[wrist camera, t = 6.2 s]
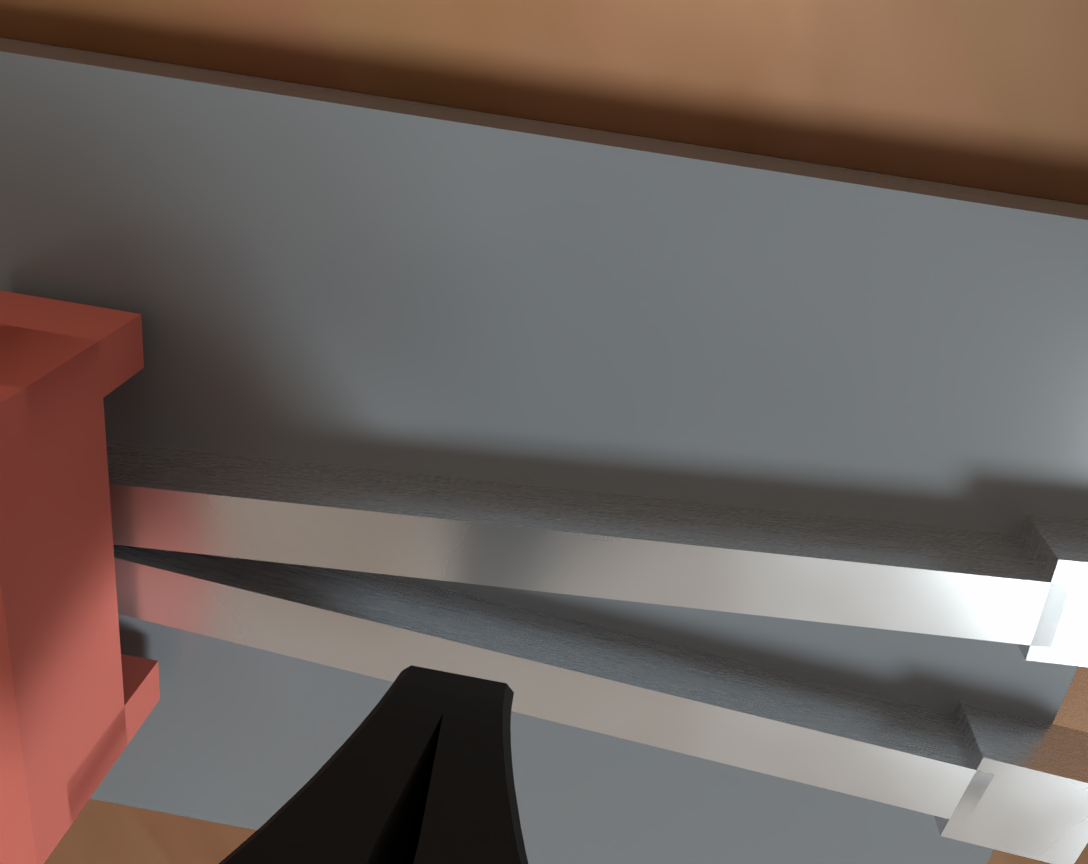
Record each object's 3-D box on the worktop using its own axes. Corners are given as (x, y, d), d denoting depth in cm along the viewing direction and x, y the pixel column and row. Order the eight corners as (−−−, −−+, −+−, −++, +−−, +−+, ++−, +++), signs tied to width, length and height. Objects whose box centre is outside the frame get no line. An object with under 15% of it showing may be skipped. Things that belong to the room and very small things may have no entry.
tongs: (1186, 530, 13) (1240, 587, 12) (1051, 808, 16) (1085, 880, 14) (-239, 289, 14) (-328, 318, 13) (-174, 584, 17) (-244, 634, 15)
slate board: (1221, 226, 13) (1272, 248, 12) (925, 903, 18) (942, 960, 17) (-220, 3, 14) (-297, 4, 13) (-85, 713, 19) (-131, 756, 18)
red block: (141, 313, 13) (-21, 416, 10) (159, 698, 16) (38, 871, 13) (-27, 285, 13) (-240, 378, 10) (22, 673, 16) (-132, 837, 13)
